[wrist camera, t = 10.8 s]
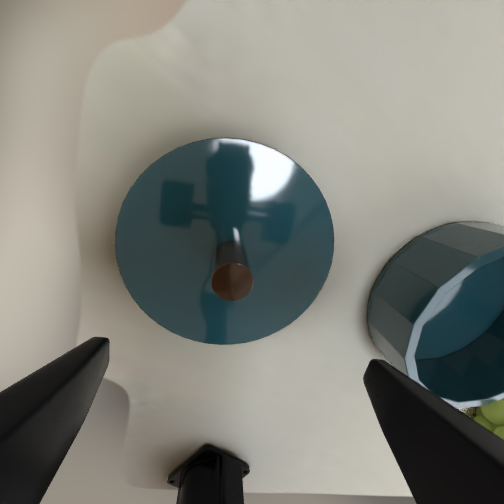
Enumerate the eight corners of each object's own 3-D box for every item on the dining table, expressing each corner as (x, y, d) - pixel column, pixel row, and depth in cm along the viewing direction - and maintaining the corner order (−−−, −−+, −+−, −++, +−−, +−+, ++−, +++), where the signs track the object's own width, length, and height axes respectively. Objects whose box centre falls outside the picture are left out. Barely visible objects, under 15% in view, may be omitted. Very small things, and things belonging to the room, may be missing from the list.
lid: (232, 365, 22) (235, 422, 17) (75, 256, 17) (14, 292, 12) (365, 247, 20) (414, 274, 15) (225, 81, 15) (226, 38, 10)
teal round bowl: (415, 383, 26) (459, 432, 21) (335, 305, 21) (367, 344, 16) (538, 293, 23) (618, 325, 19) (477, 183, 19) (562, 188, 14)
